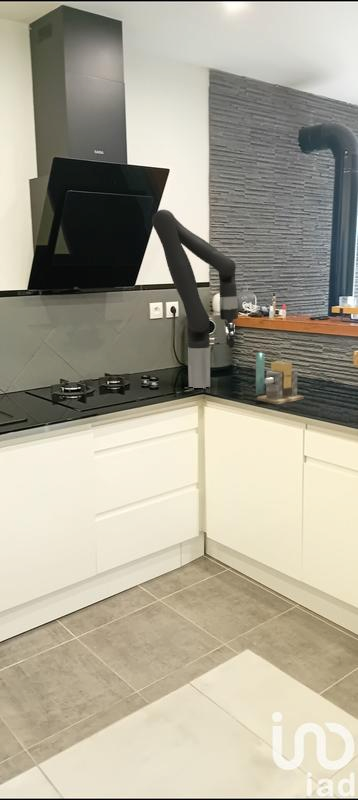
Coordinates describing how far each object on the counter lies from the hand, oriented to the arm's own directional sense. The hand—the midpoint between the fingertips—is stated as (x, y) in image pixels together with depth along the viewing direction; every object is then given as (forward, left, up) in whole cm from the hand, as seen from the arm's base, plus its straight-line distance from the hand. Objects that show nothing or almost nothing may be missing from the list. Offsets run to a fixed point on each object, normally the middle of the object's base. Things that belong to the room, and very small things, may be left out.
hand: (230, 346), depth 262 cm
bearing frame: (+17, -28, -17) cm, 37 cm away
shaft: (+14, -30, -13) cm, 36 cm away
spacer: (+17, -28, -12) cm, 35 cm away
